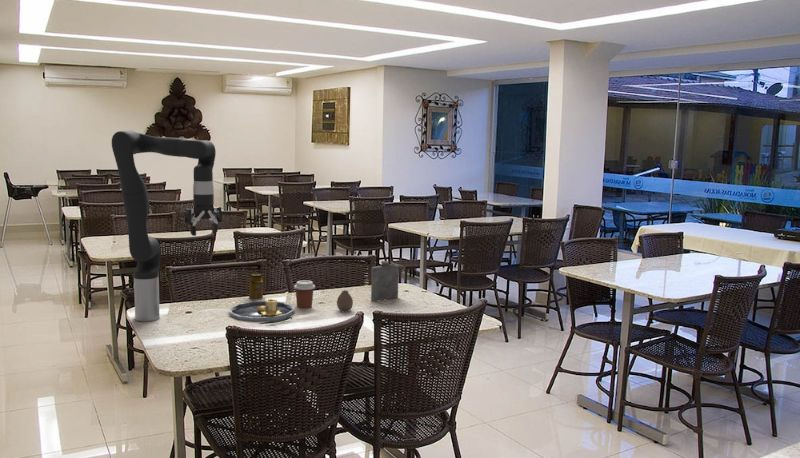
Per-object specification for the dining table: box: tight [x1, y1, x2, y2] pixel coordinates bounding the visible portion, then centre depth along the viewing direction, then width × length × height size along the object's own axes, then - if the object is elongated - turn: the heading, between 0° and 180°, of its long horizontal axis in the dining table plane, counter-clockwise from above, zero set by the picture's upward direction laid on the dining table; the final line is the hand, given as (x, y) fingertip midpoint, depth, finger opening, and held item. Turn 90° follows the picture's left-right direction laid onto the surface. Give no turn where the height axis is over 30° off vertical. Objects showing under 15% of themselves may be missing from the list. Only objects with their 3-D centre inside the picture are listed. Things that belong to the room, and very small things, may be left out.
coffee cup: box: [293, 279, 316, 309], centre depth 284 cm, size 9×9×12 cm
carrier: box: [229, 300, 295, 325], centre depth 273 cm, size 26×26×7 cm
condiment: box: [248, 273, 264, 300], centre depth 295 cm, size 7×8×12 cm
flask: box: [370, 260, 400, 302], centre depth 304 cm, size 4×14×18 cm, turn 124°
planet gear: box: [261, 298, 282, 317], centre depth 268 cm, size 8×8×6 cm
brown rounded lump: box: [336, 289, 354, 312], centre depth 283 cm, size 7×7×9 cm
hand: (204, 234), depth 253 cm, fingers open, 8 cm apart
